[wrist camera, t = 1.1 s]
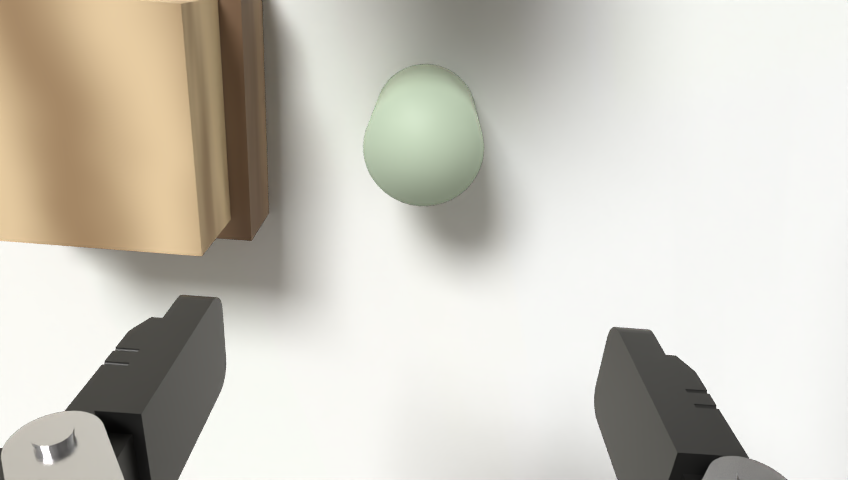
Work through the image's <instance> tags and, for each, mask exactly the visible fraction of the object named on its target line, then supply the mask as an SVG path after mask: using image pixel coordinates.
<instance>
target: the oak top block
mask: <svg viewBox="0 0 848 480" xmlns="http://www.w3.org/2000/svg"><path fill="white" fill-rule="evenodd" d="M230 220H231V214H230V197H229V180H228V164H227V147H226V130H225V113H224V97H223V80H222V63H221V47H220V30H219V13H218V0H0V241H10V242H23V243H36V244H49V245H62V246H75V247H88V248H101V249H114V250H127V251H140V252H152V253H165V254H178V255H191V256H203V254H204V253H205V252H206V251H207V249H208V248H209V247H210V245H211V244H212V243H213V242H214V240H215V239H216V238H217V236H218V235H219V234H220V233H221V231H222V230H223V229H224V228H225V226H226V225H227V224H228V222H229V221H230Z"/></svg>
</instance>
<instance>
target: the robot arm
mask: <svg viewBox="0 0 848 480" xmlns="http://www.w3.org/2000/svg"><path fill="white" fill-rule="evenodd" d="M225 372H226V352H225V338H224V324H223V311H222V304H221V301H220V299H219V298H217V297H203V296H190V295H180V296H179V297H178V298H177V299H176V301H175V302H174V303H173V305H172V306H171V307H170V309H169V310H168V312H167V313H166V314H165V316H164V317H163V318H156V317H151V318H149V319H147V320H146V321H144V322H143V323H141V324H139V325H138V326H136V327H134V328H133V329H131V330H130V331H129V332H128V333H127V334H126V335H125V337H124V338H123V339H122V340H121V342H120V343H119V344H118V345H117V347H116V350H115V351H112V353H111V354H110V355H109V356H108V358H107V359H106V360H105V364H104V365H101V366H100V368H99V369H98V370H97V371H96V373H95V374H94V375H93V376H92V378H91V379H90V380H89V381H88V383H87V384H86V385H85V386H84V388H83V389H82V390H81V391H80V393H79V394H78V395H77V396H76V398H75V399H74V400H73V401H72V403H71V404H70V405H69V406H68V408H67V409H66V410H65V411H63V412H57V413H53V414H49V415H46V416H43V417H40V418H38V419H36V420H33V421H31V422H29V423H28V424H26V425H24V426H23V427H21V428H20V429H19V430H17V431H16V432H15V433H14V434H13V435H12V436H11V437H10V438H9V439H8V440H7V441H6V443H5V445H4V446H3V448H0V480H178V479H179V476H180V474H181V472H182V470H183V468H184V466H185V464H186V462H187V460H188V458H189V456H190V454H191V452H192V450H193V448H194V446H195V443H196V441H197V439H198V437H199V435H200V433H201V431H202V429H203V427H204V425H205V423H206V421H207V419H208V417H209V415H210V412H211V410H212V408H213V406H214V404H215V402H216V400H217V398H218V396H219V394H220V392H221V389H222V386H223V383H224V378H225ZM594 407H595V415H596V419H597V422H598V425H599V428H600V430H601V433H602V436H603V439H604V442H605V445H606V448H607V451H608V453H609V456H610V459H611V462H612V465H613V468H614V471H615V474H616V477H617V479H618V480H787V479H786V478H785V477H784V476H782V475H781V474H780V473H778V472H777V471H775V470H774V469H772V468H770V467H769V466H767V465H765V464H763V463H760V462H758V461H755V460H752V459H749V457H748V456H747V454H746V452H745V451H744V449H743V448H742V446H741V444H740V443H739V441H738V440H737V438H736V436H735V435H734V433H733V431H732V430H731V428H730V427H729V425H728V423H727V422H726V420H725V419H724V417H723V415H722V414H721V412H720V410H719V409H716V404H715V402H714V401H713V399H712V398H711V396H710V394H707V390H706V388H705V386H704V385H703V383H702V381H701V380H700V378H699V377H698V375H697V373H696V372H695V371H694V370H692V369H691V368H690V367H689V366H688V365H686V364H685V363H684V362H683V361H682V360H680V359H679V358H678V357H677V356H673V355H665V353H664V351H663V349H662V348H661V346H660V344H659V342H658V341H657V339H656V337H655V335H654V334H653V332H652V331H651V330H648V329H634V328H620V327H613V328H612V329H611V330H610V331H609V334H608V337H607V341H606V345H605V349H604V353H603V358H602V362H601V366H600V370H599V374H598V379H597V383H596V387H595V395H594Z"/></svg>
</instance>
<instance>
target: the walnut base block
mask: <svg viewBox="0 0 848 480" xmlns="http://www.w3.org/2000/svg"><path fill="white" fill-rule="evenodd" d="M218 13H219V30H220V47H221V63H222V80H223V97H224V113H225V130H226V147H227V164H228V180H229V197H230V214H231V220H230V221H229V222H228V224H227V225H226V226H225V228H224V229H223V230H222V231H221V233H220V234H219V235H218V236H217V238H221V239H234V240H247V241H252V239H253V238H254V236H255V234H256V233H257V231H258V230H259V228H260V226H261V225H262V223H263V222H264V220H265V219H266V217H267V215H268V214H269V201H268V169H267V136H266V104H265V72H264V40H263V8H262V0H218Z"/></svg>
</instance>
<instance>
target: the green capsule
mask: <svg viewBox="0 0 848 480" xmlns="http://www.w3.org/2000/svg"><path fill="white" fill-rule="evenodd" d="M363 153H364V159H365V163H366V166H367V169H368V171H369V173H370V175H371V177H372V178H373V180H374V181H375V183H376V184H377V185H378V186H379V187H380V188H381V189H382V190H383V191H384V192H385V193H387V194H388V195H389V196H391V197H393V198H394V199H396V200H398V201H401V202H403V203H407V204H410V205H416V206H431V205H437V204H441V203H444V202H447V201H449V200H451V199H453V198H455V197H457V196H458V195H460V194H461V193H462V192H463V191H465V190H466V189H467V188H468V187H469V186H470V184H471V183H472V182H473V180H474V179H475V177H476V176H477V174H478V172H479V170H480V167H481V164H482V160H483V155H484V142H483V136H482V131H481V128H480V124H479V120H478V116H477V112H476V108H475V104H474V100H473V97H472V95H471V93H470V91H469V89H468V87H467V86H466V84H465V83H464V82H463V81H462V80H461V79H460V77H458V76H457V75H456V74H455V73H453V72H451V71H450V70H448V69H446V68H443V67H440V66H437V65H431V64H420V65H414V66H410V67H408V68H405V69H403V70H401V71H399V72H398V73H396V74H395V75H394V76H392V77H391V78H390V79H389V80H388V82H387V83H386V84H385V86H384V87H383V89H382V91H381V92H380V95H379V97H378V100H377V103H376V105H375V108H374V110H373V113H372V115H371V118H370V121H369V123H368V126H367V128H366V132H365V136H364V143H363Z"/></svg>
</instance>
